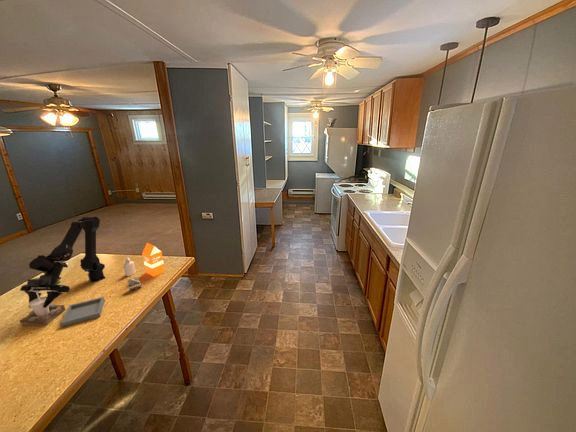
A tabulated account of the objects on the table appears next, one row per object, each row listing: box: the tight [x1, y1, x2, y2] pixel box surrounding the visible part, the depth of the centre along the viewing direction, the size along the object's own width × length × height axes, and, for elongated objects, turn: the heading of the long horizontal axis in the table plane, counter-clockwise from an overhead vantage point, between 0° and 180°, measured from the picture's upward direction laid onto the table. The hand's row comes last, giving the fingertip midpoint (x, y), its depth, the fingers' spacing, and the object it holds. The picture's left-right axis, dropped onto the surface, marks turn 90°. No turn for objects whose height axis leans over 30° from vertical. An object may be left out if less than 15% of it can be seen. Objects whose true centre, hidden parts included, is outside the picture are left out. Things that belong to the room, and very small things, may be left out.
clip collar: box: [19, 303, 66, 327], centre depth 113 cm, size 11×11×4 cm
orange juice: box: [142, 242, 166, 277], centre depth 150 cm, size 8×9×20 cm
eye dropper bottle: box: [123, 256, 137, 277], centre depth 148 cm, size 4×6×12 cm
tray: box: [60, 296, 105, 328], centre depth 116 cm, size 14×14×2 cm
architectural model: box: [125, 276, 142, 291], centre depth 134 cm, size 3×7×7 cm, turn 128°
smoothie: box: [28, 292, 49, 318], centre depth 111 cm, size 6×6×14 cm
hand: (37, 307), depth 110 cm, fingers closed on smoothie, 6 cm apart
